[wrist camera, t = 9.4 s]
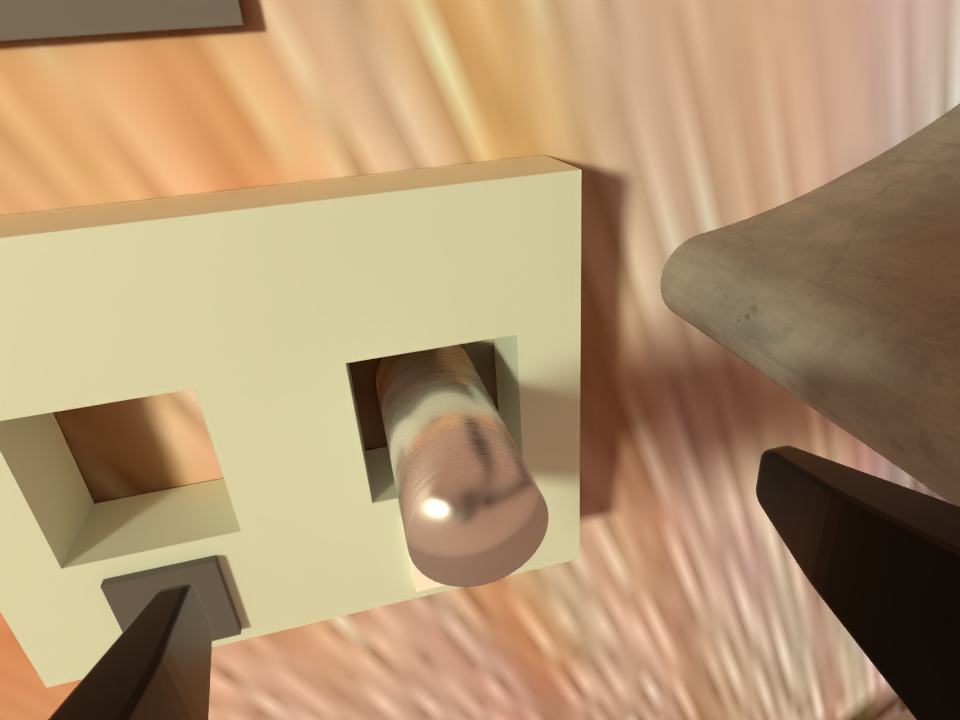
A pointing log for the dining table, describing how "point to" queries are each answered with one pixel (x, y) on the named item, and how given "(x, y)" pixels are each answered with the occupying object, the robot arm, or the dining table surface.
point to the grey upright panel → (850, 300)
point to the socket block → (270, 387)
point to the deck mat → (111, 17)
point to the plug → (456, 470)
